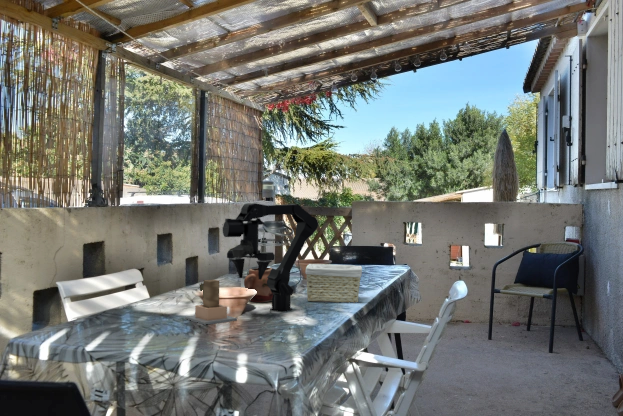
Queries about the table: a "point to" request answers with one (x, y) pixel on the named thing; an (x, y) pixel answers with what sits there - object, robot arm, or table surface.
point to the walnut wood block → (211, 293)
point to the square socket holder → (210, 315)
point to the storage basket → (333, 282)
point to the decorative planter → (259, 285)
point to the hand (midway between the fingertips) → (250, 278)
